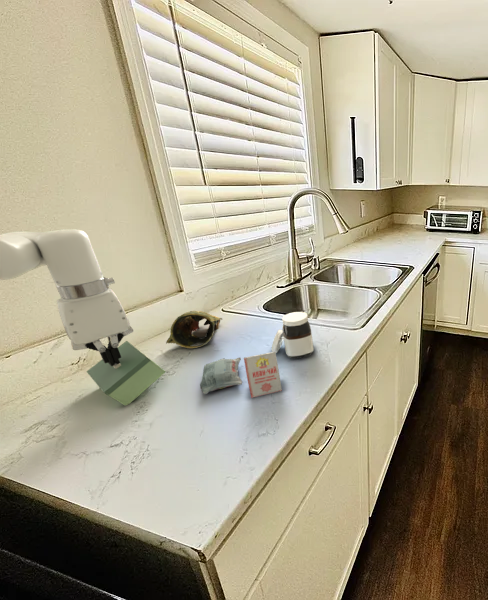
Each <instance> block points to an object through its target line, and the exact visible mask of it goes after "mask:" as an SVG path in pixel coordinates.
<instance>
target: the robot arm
mask: <svg viewBox="0 0 488 600" xmlns="http://www.w3.org/2000/svg"><path fill="white" fill-rule="evenodd" d="M44 266H46V267H47V270H48V271H49V274H50V276H51V278H52V281H53V283H54V284H55V287H56V289H57V290H56V291H57V292H58V295H59V297H60V298H58V299H57V300H56V305H57V310H58V315H59V317H60V320H61V323H62V326H63V328H64V330H65V333H66V335H67V337H68V339H69V340H70V347H71V349H72V351H80V350H86V349H89V350H93V351H96V352H98V353H99V354H100V356H101V360H102V359H103V361H104V363H109V364H110V365H111V366H114V365H115V364H119V363H120V361H119V358H121V355H120V352H119V350H118V347H119V346H120V343H121V341H122V340H123V338H124V337H126V336H128V335H130V334H133V333H134V329H133V328H132V325H131V322H130V320H129V317H128V315H127V312H126V311H125V308H124V307H123V305H122V303H121V301H120V300H119V297H118V296H117V294H116V293H115V291H114V290H113V289H112V288H109V287H110V286H111V285H113V284H115V283H116V281H115V279H114V278H113V277H105V276H104V274H103V272H102V268H101V266H100V263H99V261H98V258H97V255H96V253H95V250H94V247H93V245H92V242H91V240H90V237H89V235H88V233H86V232H85V231H84V230H82V229H78V228H76V229H75V228H67V229H66V228H65V229H56V230H55V229H54V230H49V231H9V232H4V233H0V281H7V280H12V279H13V280H14V279H16V278H19V277H21V276H23V275H24V274H26V273H29V272H31V271H33V270H36V269H38V268H41V267H44ZM106 338H107V342H108V343H107V346H105V345H104V343H102V341H101V340H103V339H106Z"/></svg>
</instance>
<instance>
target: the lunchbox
mask: <svg viewBox="0 0 488 600" xmlns="http://www.w3.org/2000/svg"><path fill="white" fill-rule="evenodd" d="M118 350H119V352H120V355H121V358H119V361H120V363H119V364H115V365H114V366H111V365H110V364H109V363H104V361H103V359H102V358H101V360H99V361H98V362H97V363H95V364H94V365H93V366H91V367H90V368H89V369H87V371H86V373H87V374H88V375H89V377H90V378H91V379H92V380H93V382H94V383H95V384H96V385H97V386H98V388H99V389H100V390H101V391H102V392H103V394H105V395H107V396H108V397H110V398H112V399H113V400H115V401H117V402H118V403H120V404H121V405H123V406H125V407H126V406H128V405H130V404H131V403H132V402H133V401H135V400H136V399H137V398H138V397H139V396H140V395H141V394H142V393H145V391H146V390H147V389H148V388H149V387H151V385H153V384H154V383H155V382H156V381H157V380H159V379H160V378H161V377H162V376H163V375H164V374H165V373H166V372H167V371H166V370H165V369H164V368H162V367H161V366H160V365H159V364H158V363H156V362H155V361H154V360H152V359H151V358H149V356H147V355H146V354H145V353H144V352H142V351H141V350H140V349H138V348H137V347H136V346H134V345H133V344H131V343H130V342H129V341H128V340H125V342H123V343H122V344H119V346H118Z"/></svg>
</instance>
